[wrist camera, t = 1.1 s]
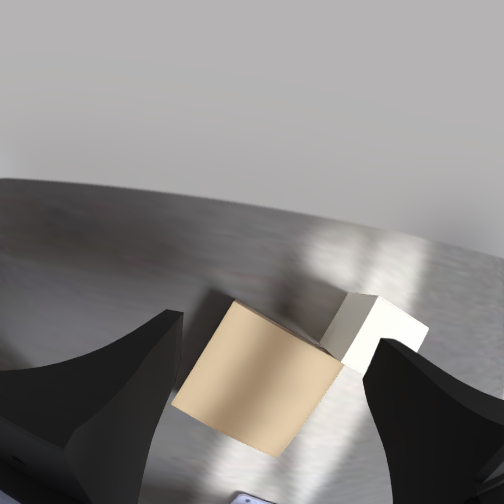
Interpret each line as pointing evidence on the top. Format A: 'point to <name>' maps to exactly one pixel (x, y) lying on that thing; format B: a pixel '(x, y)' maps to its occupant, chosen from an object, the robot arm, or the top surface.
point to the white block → (368, 329)
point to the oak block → (257, 381)
